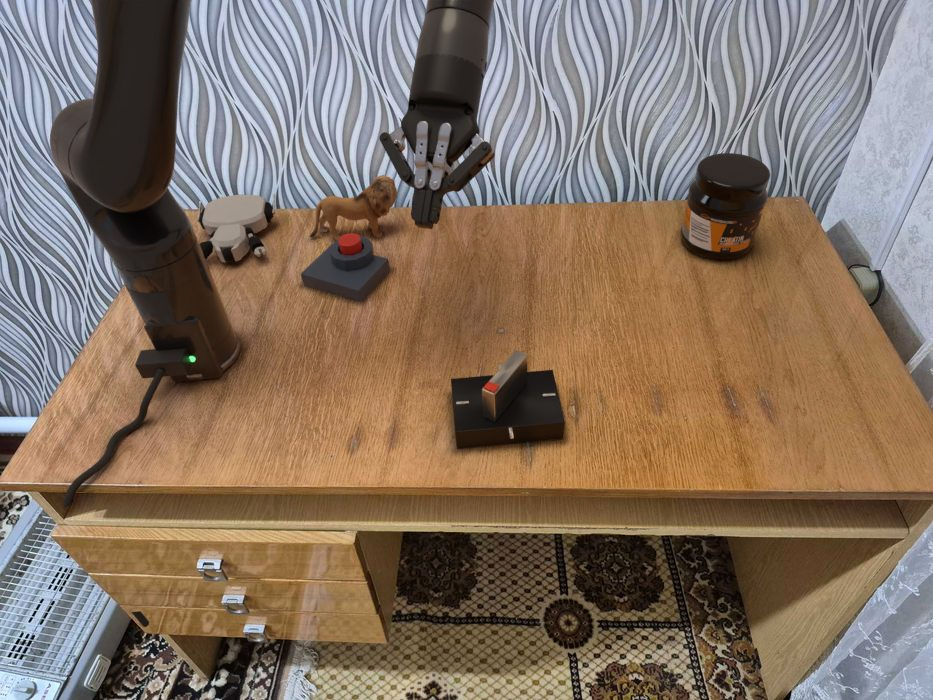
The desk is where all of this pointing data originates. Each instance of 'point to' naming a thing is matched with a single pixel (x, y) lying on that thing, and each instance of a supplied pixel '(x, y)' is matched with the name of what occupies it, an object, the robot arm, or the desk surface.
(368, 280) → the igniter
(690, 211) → the supplement container
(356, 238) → the button
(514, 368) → the knob
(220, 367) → the robot arm
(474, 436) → the panel
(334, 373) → the desk surface
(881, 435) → the desk surface
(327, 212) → the lion figurine
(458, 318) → the desk surface
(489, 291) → the desk surface
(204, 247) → the robot toy
